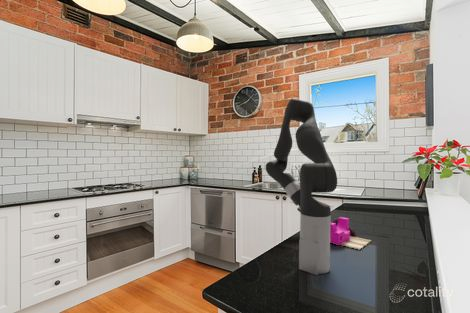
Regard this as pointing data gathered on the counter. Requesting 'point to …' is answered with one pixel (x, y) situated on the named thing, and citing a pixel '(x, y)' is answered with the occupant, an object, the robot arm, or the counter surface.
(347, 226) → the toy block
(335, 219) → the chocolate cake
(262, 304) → the counter surface
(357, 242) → the beige piece
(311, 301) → the counter surface
